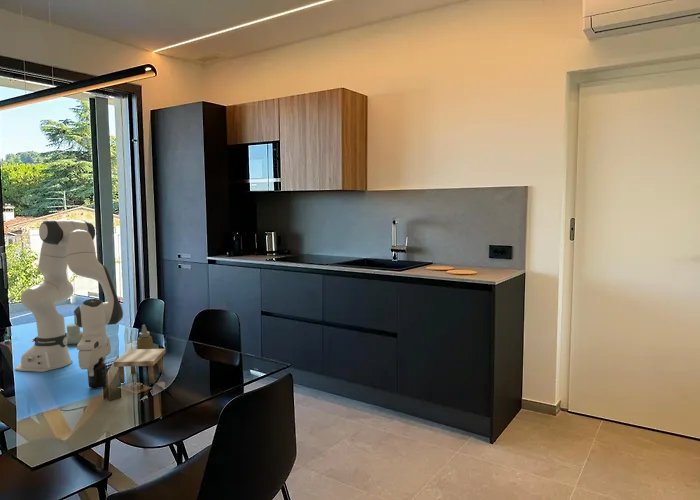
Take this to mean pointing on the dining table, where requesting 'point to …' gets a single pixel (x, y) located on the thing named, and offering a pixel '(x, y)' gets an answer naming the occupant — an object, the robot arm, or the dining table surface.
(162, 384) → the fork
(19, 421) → the dining table surface
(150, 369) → the stool
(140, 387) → the dining table surface
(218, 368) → the dining table surface
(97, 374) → the supplement bottle
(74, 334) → the air freshener
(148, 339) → the squeeze bottle
